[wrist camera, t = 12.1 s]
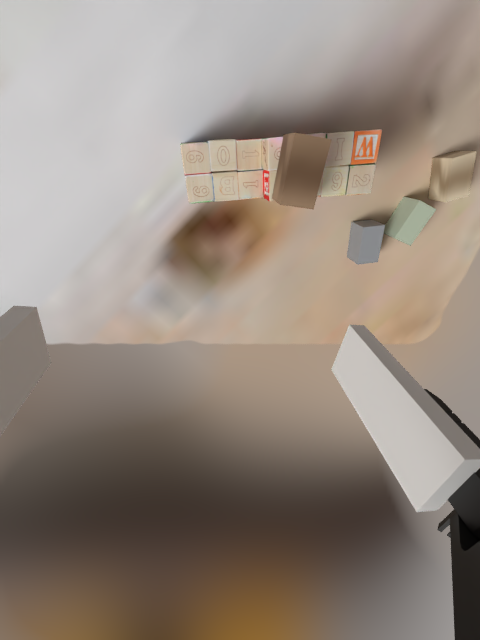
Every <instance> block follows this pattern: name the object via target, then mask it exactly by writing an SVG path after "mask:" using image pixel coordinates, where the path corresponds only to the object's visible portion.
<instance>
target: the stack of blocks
mask: <svg viewBox="0 0 480 640" xmlns="http://www.w3.org/2000/svg"><path fill="white" fill-rule="evenodd" d="M381 134H382V129H378V130H364V131H346V132H336V133H326V134H325V133H324V132H323V133H312V134H306V135H311V136H316V137H321V138H327V139H332V141H331V144H330V148H329V152H328V156H327V160H326V163H325V167H324V171H323V175H322V178H321V182H320V186H319V190H318V194H317V196H320V197H327V196H340V195H359V194H370V193H371V189H372V184H373V178H374V173H375V169H376V164H375V163H376V161H377V157H378V151H379V146H380V140H381ZM282 141H283V136H282V137H271V138H260V139H244V140H236V139H221V140H208V141H207V142H191V143H181V144H180V146H181V153H182V160H183V167H184V174H185V179H186V186H187V193H188V200H189V203H202V202H211V201H215V202H218V201H229V200H243V199H253V198H262V197H264V198H265V199H267V200H268V201H274V200H273V199H272V194H273V189H274V184H275V178H276V173H277V168H278V162H279V157H280V152H281V146H282Z"/></svg>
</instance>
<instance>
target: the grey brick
mask: <svg viewBox="0 0 480 640" xmlns="http://www.w3.org/2000/svg"><path fill="white" fill-rule="evenodd" d="M384 228H385V225H384V224H382V223H379V222H377V221H374V220H363V221H354V222H352V223H351V230H350V238H349V245H348V252H347V257H348V258H349V259H351V260H352V261H353V262H355V263H356V264H365V263H374V262H378V258H379V253H380V248H381V243H382V238H383V233H384Z"/></svg>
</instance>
